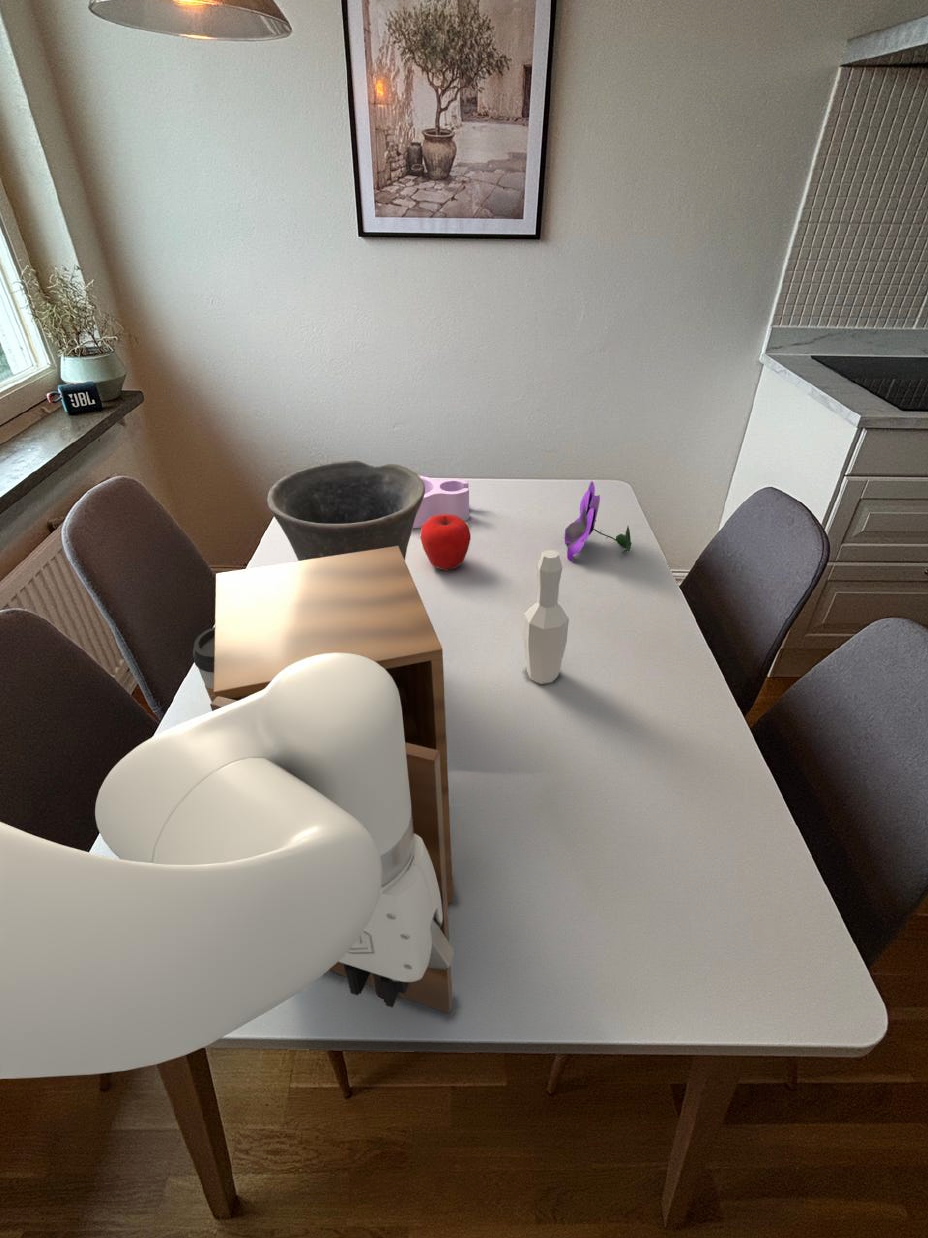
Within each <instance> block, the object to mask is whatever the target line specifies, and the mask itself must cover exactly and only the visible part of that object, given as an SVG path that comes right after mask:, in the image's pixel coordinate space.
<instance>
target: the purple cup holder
mask: <svg viewBox="0 0 928 1238" xmlns="http://www.w3.org/2000/svg"><path fill="white" fill-rule="evenodd" d="M418 476H419V477H420V478H421V479H422V480H423V482H424V485H425V494H424V497H423V500H422V503H421V505H420V508H419V510H418V512H417V514H416V517H415V520H414V524H413V528H412V529H420V528H421V529H422V526H423V524H424V523H425V522H427V521H428V520H429V519H430V518H431V517H433V516H436V515H442V514H447V515H455V516H458V517H459V518H461V519H462V520H463V521H465V522H466V521H467V520H469V519H470V488H469V487H470V485H469V481H468V480H466V479H463V478H458V477H457V478H454V477H453V478H450V477H449V478H443V479H438V478H437V479H436V478H432V477H428V476H424V475H418Z"/></svg>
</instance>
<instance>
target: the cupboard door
mask: <svg viewBox="0 0 928 1238" xmlns="http://www.w3.org/2000/svg"><path fill="white" fill-rule="evenodd" d="M234 702H237V701H235V700H231V699H227V698H223V697H219V696H218V697H217V698H216V699H215V700H214V701H213V702H211V703H210V704H209V705H210V709H211V712H212V711H214V710H217V709H219V708H222V707H224V706H227V705H229V704H232V703H234ZM405 749H406V759H407V769H408V779H409V789H410V798H411V809H412V818H413V828H414V833H415V834H416V835H418V836H420V837H421V838H422V840H423V842H424V844H425V847H426V849H427V851H428V854H429V856H430V859H431V861H432V864H433V867H434V871H435V874H436V878H437V882H438V887H439V891H440V897H441V904H442V915H443V921H442V926H441V927H440V930H441V931H442V933H443V934H444V936H445V937H446V939H447V940H448V942H449V943H450V927H449V908H448V907H449V905H448V904H449V903H447V885H446V866H445V847H444V828H443V809H442V790H441V772H440V753H439V751H438V750H434V749H430V748H426V747H422V746H418V745H414V744H410V743H406V742H405ZM450 944H451V943H450ZM328 971H329V972H333V973H334V974H338V975H341V976H343V977H346V978H347V975H346V973H345V969H344V964H341V963H339V962H337V963H336V964H335V965H334V966H333V967H331V968H330V969H329V970H328ZM380 978H381V975H378V974H375V973H372V972H370V975H369V977H368V979H367V981H366V984H365V985H368V986H371V987H373V991H374V994H375V996H376V997H377V998H378V999H380V1000H383V995H382V989H381V984H380ZM452 982H453V981H452V963H451V964H450V967H449V969H448V970H441V969H430V968H427V969H426V971H425V973H424V975H423V977H422V978H421V979H420V980H418V981H414V982H409V985H408V988H407V990H406V992H405V993H404V994H403V993H400V992H399V993H398V996H399V997H401V998H404V999H408V1000H410V1001H413V1002H416V1003H418V1004H421V1005H424V1006H427V1007H430V1008H433V1009H435V1010H437V1011H441V1012H444V1013H446V1014H450V1013H451V1012H452V1011H451V1010H452V1008H453V1006H454V1005H453V1004H454V1003H453V1001H454V1000H453V983H452ZM383 1001H384V1000H383Z"/></svg>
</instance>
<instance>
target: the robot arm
mask: <svg viewBox="0 0 928 1238" xmlns="http://www.w3.org/2000/svg"><path fill="white" fill-rule="evenodd" d="M94 807H95V809H94V816H95V823H96V828H97V830H98V832H99V834H100V836H101V839H102V840H103V841H104V843H105V844H106V846H107V847H108V848H109V849H110V851H111V852H112V853H113V854H114V855H115V856H116V857H117V858H116V857H111V856H105V855H100V854H96V853H93V852H88V851H85V850H81V849H77V848H74V847H70V846H67V845H63V844H60V843H58V842H54V841H52V840H48V839H45V838H42V837H40V836H36V835H33V834H32V833H28V832H26V831H24V830H21V829H19V828H17V827H14V826H11V825H8V824H7V823H4V822H2V821H0V1080H3V1079H4V1080H5V1079H6V1080H7V1079H9V1080H10V1079H11V1080H12V1079H15V1080H16V1079H34V1078H51V1077H52V1078H53V1077H66V1076H67V1077H69V1076H89V1075H100V1074H108V1073H116V1072H125V1071H126V1072H127V1071H131V1070H135V1069H140V1068H144V1067H145V1068H146V1067H150V1066H154V1065H158V1064H162V1063H165V1062H169V1061H172V1060H174V1059H177V1058H181V1057H183V1056H186V1055H189V1054H191V1053H194V1052H196V1051H198V1050H201V1049H202V1048H205V1047H207V1046H209V1045H211V1044H213V1043H215V1042H216V1041H218V1040H221V1039H222V1038H224V1037H225V1036H228V1035H229V1034H231V1033H233V1032H234V1031H236V1030H238V1029H239V1028H241V1027H243V1026H245V1025H247V1024H249V1023H251V1022H252V1021H254V1020H255V1019H257V1018H259V1017H260V1016H262V1015H264V1014H266V1013H267V1012H269V1011H270V1010H273V1009H274V1008H276V1007H278V1006H279V1005H281V1004H283V1003H285V1002H286V1001H288V1000H289V999H291V998H293V997H294V996H296V995H297V994H298V993H300V992H301V991H303V990H304V989H305V988H306V987H308V986H309V985H311V984H312V983H314V982H315V981H316V980H319V979H320V978H321V977H323V975H324V974H326V973H327V972H328V971H329V969H330V968H331V967H333V966H334V965H335V964H336V963H337V962H339V963H341V964H344V969H345V973H346V975H347V977H346V978H347V983H348V987H349V991H350V994H351V995H354V996H359V995H361V994H362V993H363V991H364V988H365V986H366V985H367V984H366V981H367V979H368V977H369V975H370V972H372V973H375V974H378V975H381V978H380V984H381V989H382V995H383V1003H384V1004H385V1006H387V1007H389V1008H393V1007H394V1006H395V1003H396V1000H397V998H398V996H399V995H398V993H399V992H400V993H403V994H404V993H405V992H406V990H407V988H408V985H409V982H414V981H418V980H420V979H421V978H422V977H423V975H424V973H425V971H426V969H427V968H430V969H441V970H448V969H449V967H450V964H451V965H452V961H453V959H454V956H455V954H456V953H455V952H456V951H455V949H454V947H453V946H452V945H451V943H449V942H450V941H449V942H448V940H447V939H446V937H445V936H444V934H443V933H442V931H441V930H440V927H441V926H442V921H443V915H442V904H441V897H440V891H439V887H438V882H437V878H436V874H435V871H434V867H433V864H432V861H431V859H430V856H429V854H428V851H427V849H426V847H425V844H424V842H423V840H422V838H421V837H420V836H418V835H416V834H415V833H414V828H413V818H412V809H411V798H410V789H409V779H408V769H407V759H406V749H405V738H404V728H403V717H402V707H401V702H400V696H399V692H398V689H397V686H396V684H395V682H394V680H393V679H392V677H391V676H390V675H389V673H388V672H387V671H386V670H385V669H384V668H383V667H381V666H380V665H379V664H377V663H376V662H374V661H373V660H371V659H369V658H366V657H363V656H360V655H356V654H350V653H324V654H319V655H314V656H311V657H308V658H305V659H302V660H300V661H298V662H295V663H294V664H292V665H290V666H288V667H287V668H285V669H284V670H283V671H281V672H280V673H279V674H278V675H277V676H276V677H275V678H274V679H273V680H272V681H271V682H270V683H269V685H268V686H267V687H266V688H265V689H263V690H262V691H259V692H257V693H255V694H253V695H250V696H248V697H246V698H244V699H241V700H239V701H237V702H234V703H232V704H229V705H227V706H224V707H222V708H219V709H217V710H214V711H212V710H211V711H210V712H207V713H204V714H202V715H199V716H197V717H194V718H192V719H189V720H186V721H184V722H182V723H179V724H177V725H174V726H172V727H170V728H168V729H165V730H163V731H161V732H159V733H157V734H156V735H154V736H152V737H150V738H148V739H147V740H145V741H143V742H141V743H140V744H139V745H137V746H136V747H134V748H133V749H132V750H131V751H129V752H128V753H127V754H126V755H124V757H122V758H121V759H120V760H119V761H118V762H117V763H116V764H115V765H114V766H113V768H112V769H111V770H110V771H109V773H108V774H107V775H106V777H105V778H104V781H103V782H102V784H101V786H100V788H99V790H98V794H97V796H96V801H95V806H94Z"/></svg>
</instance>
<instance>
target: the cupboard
mask: <svg viewBox="0 0 928 1238" xmlns="http://www.w3.org/2000/svg"><path fill="white" fill-rule="evenodd" d="M214 595H215V599H214V601H215V602H214V603H215V604H214V606H215V607H214V627H215V644H214V695H215V699H216V698H217V697H218V696H219V697H223V698H227V699H231V700H235V701H239V700H241V699H244V698H246V697H248V696H250V695H253V694H255V693H257V692H259V691H262V690H263V689H265V688H266V687H267V686H268V685H269V683H270V682H271V681H272V680H273V679H274V678H275V677H276V676H277V675H278V674H279V673H280V672H281V671H283V670H284V669H285V668H287V667H288V666H290V665H292V664H294V663H295V662H298V661H300V660H302V659H305V658H308V657H311V656H314V655H319V654H324V653H350V654H356V655H360V656H363V657H366V658H369V659H371V660H373V661H374V662H376V663H377V664H379V665H380V666H381V667H383V668H384V669H385V670H386V671H387V672H388V673H389V675H390V676H391V677H392V679H393V680H394V682H395V684H396V686H397V689H398V692H399V696H400V702H401V707H402V717H403V728H404V738H405V742H406V743H410V744H414V745H418V746H422V747H426V748H430V749H434V750H438V751H439V753H440V772H441V790H442V809H443V828H444V847H445V866H446V885H447V904H450V903H453V902H454V883H453V881H454V880H453V857H452V835H451V816H450V815H451V813H450V812H451V811H450V791H449V790H450V789H449V786H450V785H449V764H448V763H449V762H448V744H447V743H448V742H447V741H448V740H447V722H446V721H447V719H446V698H445V675H444V653H443V647H442V644H441V642H440V640H439V637H438V635H437V633H436V631H435V630H436V629H434V625H433V623H432V621H431V619H430V617H429V615H428V612H427V609H426V607H425V605H424V602H423V600H422V598H421V595H420V593H419V591H418V589H417V586H416V583H415V582H414V579H413V577H412V574H411V572H410V570H409V567H408V565H407V563H406V559H405V560H404V558H403V555H402V553H401V551H400V548H399V546H394V547H387V548H381V549H374V550H368V551H361V552H355V553H348V554H341V555H335V556H328V557H322V558H315V559H309V560H302V561H298V560H296V561H290V562H284V563H277V564H270V565H263V566H257V567H250V568H243V569H236V570H231V571H223V572H218V573H215V594H214Z"/></svg>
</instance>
